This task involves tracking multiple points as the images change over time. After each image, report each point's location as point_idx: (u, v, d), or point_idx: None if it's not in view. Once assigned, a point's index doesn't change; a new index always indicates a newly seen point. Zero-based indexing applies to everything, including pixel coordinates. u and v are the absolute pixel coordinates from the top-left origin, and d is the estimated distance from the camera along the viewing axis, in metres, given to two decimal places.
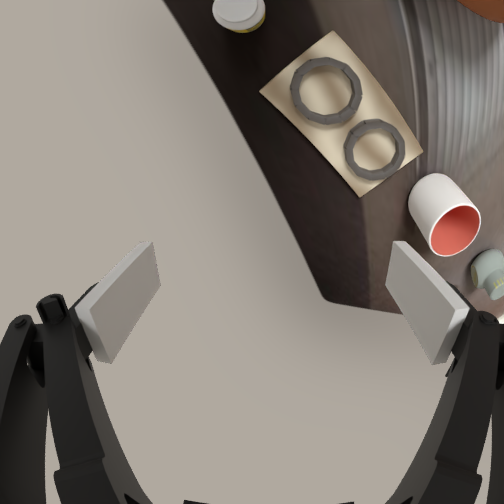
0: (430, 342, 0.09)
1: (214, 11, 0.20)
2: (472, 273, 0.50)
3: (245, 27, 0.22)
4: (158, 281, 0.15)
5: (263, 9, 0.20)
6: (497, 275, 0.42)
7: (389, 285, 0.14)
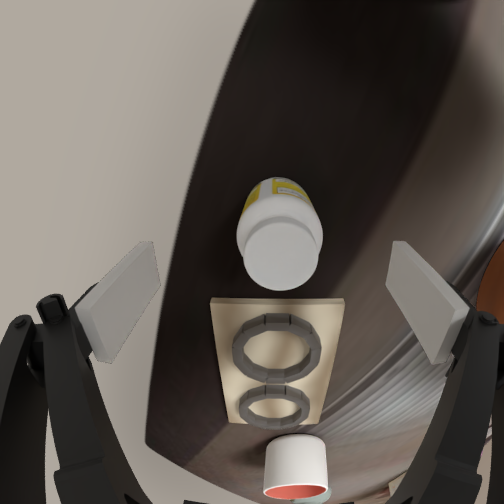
0: (430, 342, 0.09)
1: (247, 217, 0.16)
2: None
3: None
4: (158, 281, 0.15)
5: None
6: None
7: (389, 285, 0.14)
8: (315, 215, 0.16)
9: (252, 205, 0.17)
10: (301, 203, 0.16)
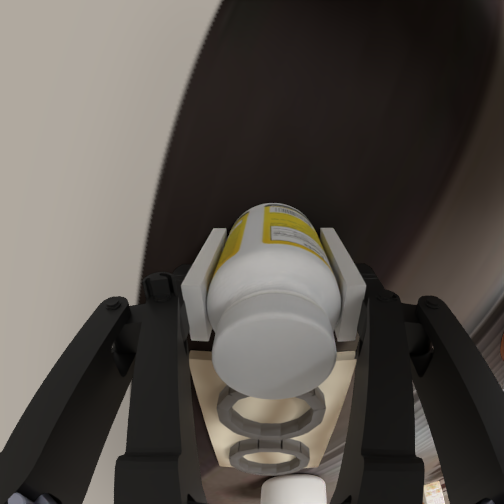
0: None
1: (221, 285, 0.10)
2: None
3: None
4: None
5: None
6: None
7: None
8: (332, 279, 0.10)
9: (229, 263, 0.10)
10: (309, 260, 0.10)
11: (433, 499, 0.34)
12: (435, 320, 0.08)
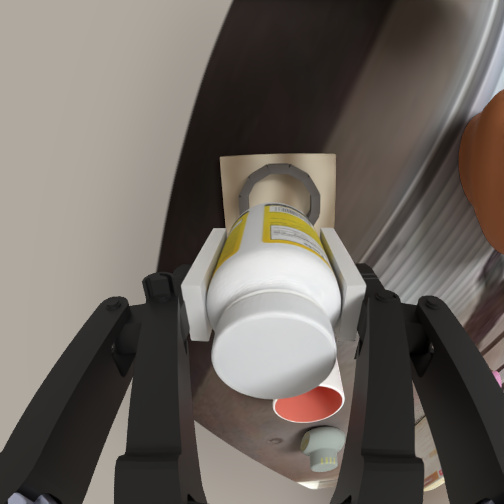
0: None
1: (221, 284, 0.10)
2: (304, 438, 0.52)
3: None
4: None
5: None
6: (328, 453, 0.46)
7: None
8: (332, 278, 0.10)
9: (229, 262, 0.10)
10: (309, 260, 0.10)
11: None
12: (435, 320, 0.08)
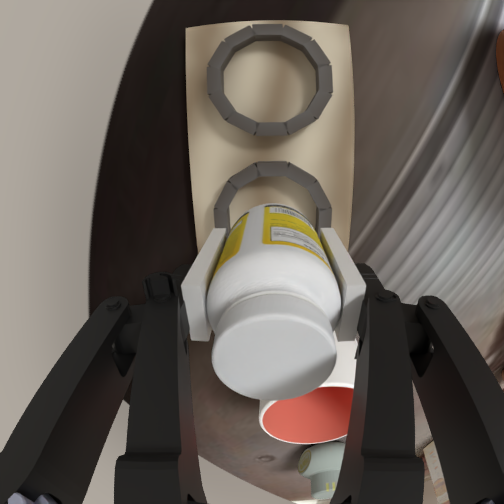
0: None
1: (221, 285, 0.10)
2: (303, 457, 0.38)
3: None
4: None
5: None
6: (336, 477, 0.31)
7: None
8: (332, 280, 0.10)
9: (229, 264, 0.10)
10: (309, 262, 0.10)
11: None
12: (435, 320, 0.08)
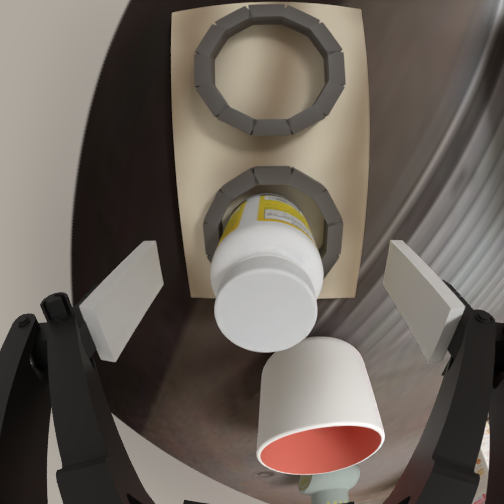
0: (426, 340, 0.09)
1: (222, 253, 0.12)
2: None
3: None
4: (161, 280, 0.15)
5: None
6: (338, 496, 0.28)
7: (386, 284, 0.14)
8: (314, 250, 0.12)
9: (229, 236, 0.12)
10: (295, 234, 0.12)
11: (486, 441, 0.28)
12: None
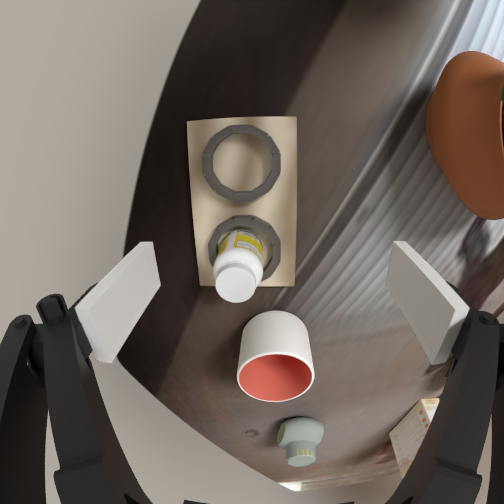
0: (430, 342, 0.09)
1: (218, 261, 0.29)
2: (280, 430, 0.51)
3: None
4: (158, 281, 0.15)
5: None
6: (305, 446, 0.45)
7: (389, 285, 0.14)
8: (257, 260, 0.29)
9: (221, 254, 0.29)
10: (248, 253, 0.29)
11: None
12: None
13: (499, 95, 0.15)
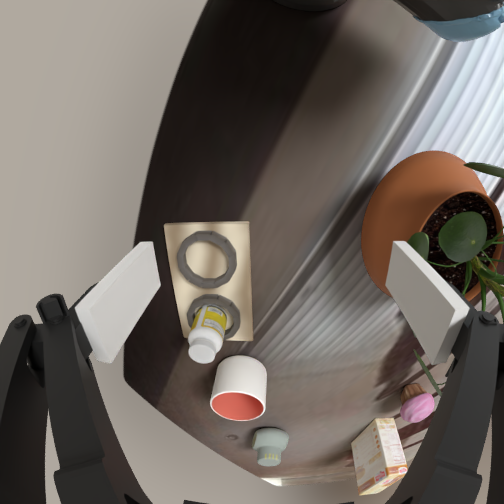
0: (430, 342, 0.09)
1: (191, 335, 0.41)
2: (254, 436, 0.63)
3: None
4: (158, 281, 0.15)
5: (215, 352, 0.42)
6: (272, 450, 0.57)
7: (389, 285, 0.14)
8: (217, 335, 0.41)
9: (193, 330, 0.41)
10: (211, 331, 0.40)
11: (387, 433, 0.56)
12: None
13: (418, 227, 0.25)
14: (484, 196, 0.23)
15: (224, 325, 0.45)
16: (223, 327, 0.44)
